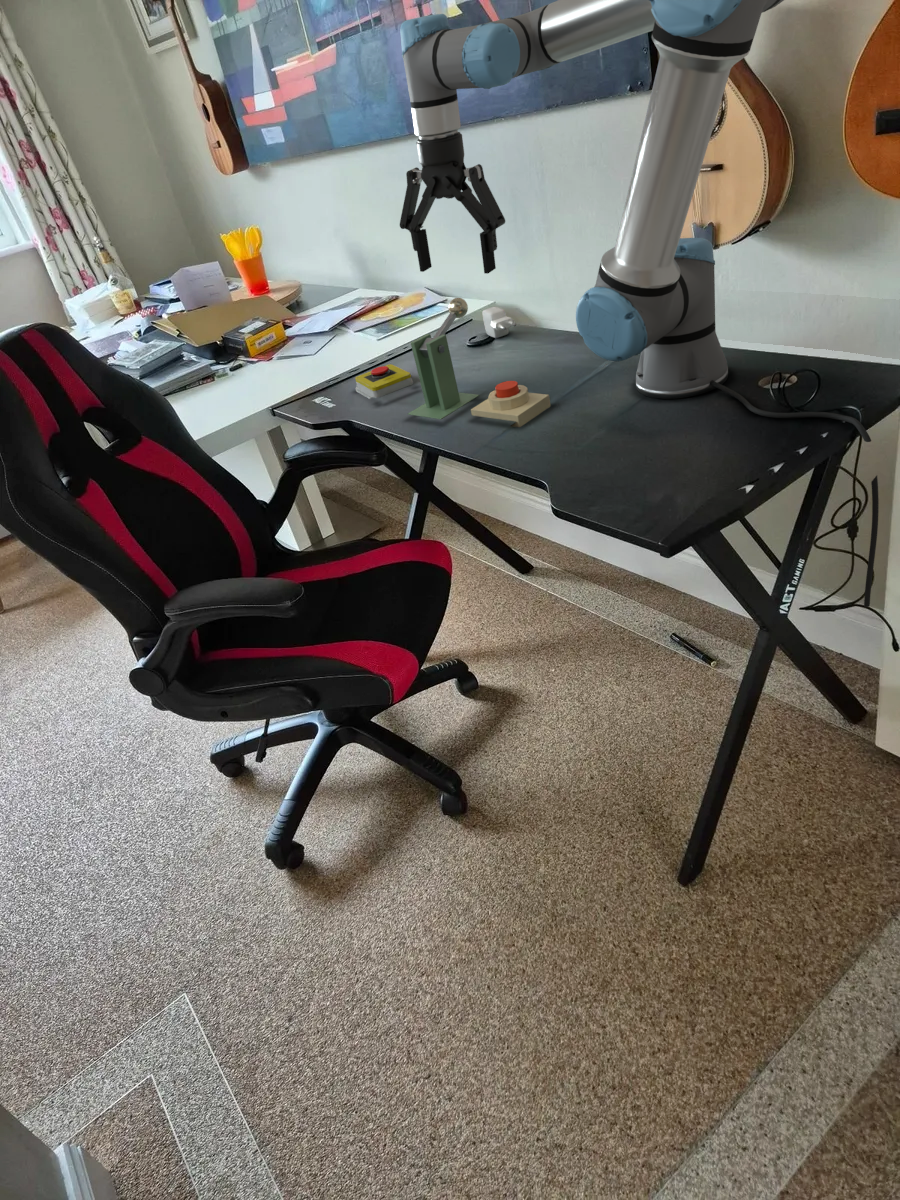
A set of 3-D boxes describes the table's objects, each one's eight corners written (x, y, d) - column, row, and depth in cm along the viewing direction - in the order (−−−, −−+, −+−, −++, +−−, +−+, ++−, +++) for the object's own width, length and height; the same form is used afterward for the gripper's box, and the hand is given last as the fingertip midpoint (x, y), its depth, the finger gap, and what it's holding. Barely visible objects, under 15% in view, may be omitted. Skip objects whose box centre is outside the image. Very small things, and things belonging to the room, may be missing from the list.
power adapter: (522, 338, 174) (518, 311, 171) (503, 345, 173) (498, 318, 170) (501, 329, 183) (497, 304, 180) (483, 335, 182) (478, 310, 179)
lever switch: (460, 308, 147) (451, 293, 144) (474, 308, 145) (465, 293, 142) (424, 360, 144) (414, 346, 141) (438, 361, 141) (428, 347, 139)
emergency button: (387, 356, 170) (415, 369, 158) (392, 375, 172) (420, 390, 161) (348, 371, 167) (375, 385, 156) (354, 390, 170) (380, 405, 158)
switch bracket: (447, 396, 154) (431, 327, 146) (480, 400, 148) (465, 328, 141) (408, 419, 148) (390, 348, 141) (442, 424, 143) (424, 351, 135)
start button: (523, 391, 137) (522, 381, 136) (509, 400, 135) (508, 390, 134) (506, 389, 140) (504, 379, 139) (492, 398, 138) (490, 388, 137)
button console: (550, 406, 138) (547, 384, 136) (519, 427, 134) (515, 405, 132) (503, 400, 146) (500, 380, 143) (472, 420, 141) (468, 400, 139)
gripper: (517, 124, 122) (528, 264, 135) (390, 134, 134) (412, 262, 147) (493, 134, 117) (508, 279, 130) (364, 144, 130) (389, 275, 143)
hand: (457, 270), depth 139 cm, fingers open, 13 cm apart
